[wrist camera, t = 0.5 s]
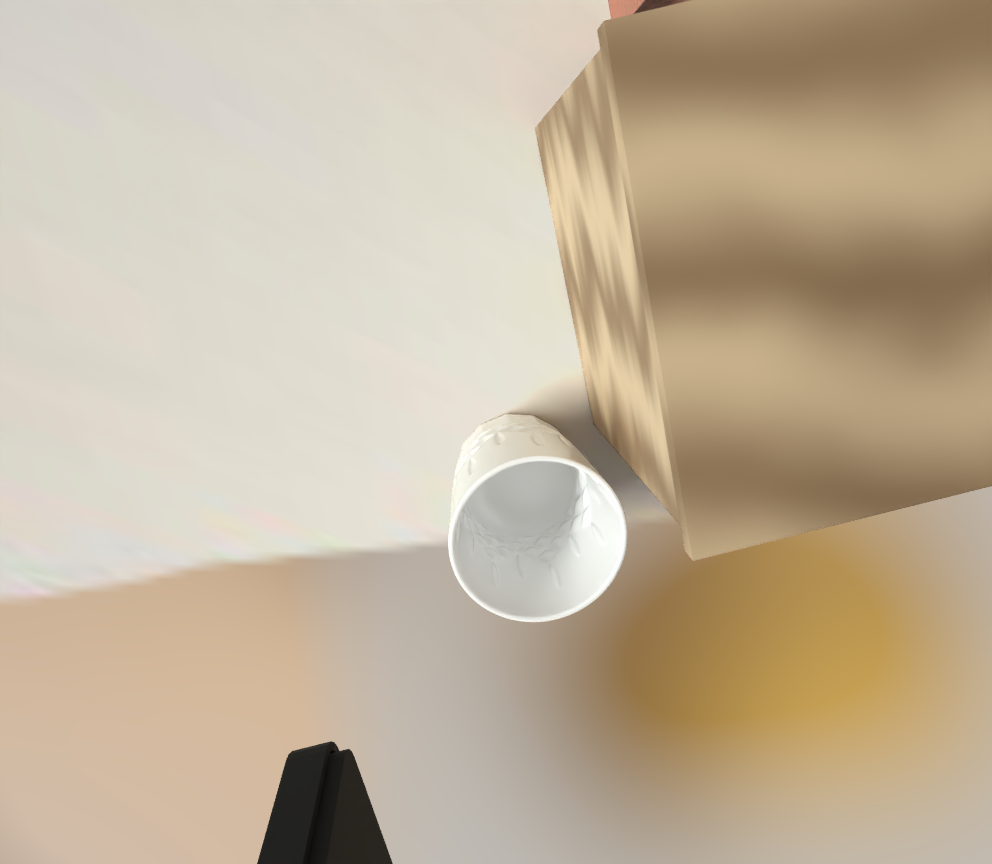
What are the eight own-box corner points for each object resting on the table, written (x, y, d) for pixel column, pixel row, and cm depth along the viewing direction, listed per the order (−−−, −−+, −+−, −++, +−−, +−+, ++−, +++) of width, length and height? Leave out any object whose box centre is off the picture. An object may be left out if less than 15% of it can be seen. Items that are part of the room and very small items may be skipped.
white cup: (588, 406, 39) (638, 460, 29) (574, 534, 41) (616, 624, 31) (449, 399, 38) (453, 451, 28) (442, 530, 40) (443, 620, 30)
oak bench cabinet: (526, 126, 34) (603, 21, 18) (801, 60, 35) (1118, -102, 18) (587, 429, 39) (693, 560, 23) (829, 369, 39) (1104, 457, 23)
